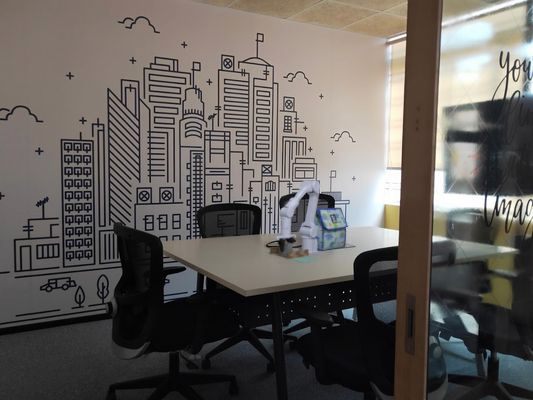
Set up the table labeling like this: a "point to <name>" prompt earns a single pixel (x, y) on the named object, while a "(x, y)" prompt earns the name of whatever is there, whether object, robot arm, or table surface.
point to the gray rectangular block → (286, 248)
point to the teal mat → (305, 259)
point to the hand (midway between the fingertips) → (285, 251)
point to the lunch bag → (330, 228)
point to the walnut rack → (290, 253)
